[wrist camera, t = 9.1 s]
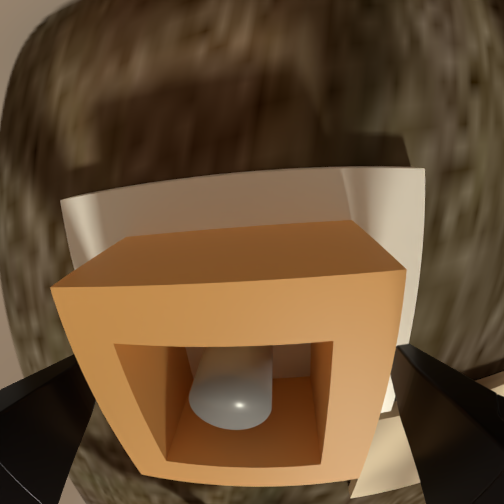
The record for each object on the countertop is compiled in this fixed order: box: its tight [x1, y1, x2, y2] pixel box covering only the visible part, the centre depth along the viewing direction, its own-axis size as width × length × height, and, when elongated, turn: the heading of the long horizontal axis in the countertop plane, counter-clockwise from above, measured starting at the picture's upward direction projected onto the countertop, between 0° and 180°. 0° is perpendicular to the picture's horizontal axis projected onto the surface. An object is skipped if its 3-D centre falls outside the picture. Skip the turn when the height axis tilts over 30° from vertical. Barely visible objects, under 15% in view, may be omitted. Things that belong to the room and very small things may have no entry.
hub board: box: [60, 166, 425, 430], centre depth 9 cm, size 12×10×4 cm
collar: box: [50, 220, 407, 487], centre depth 8 cm, size 7×7×4 cm
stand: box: [349, 371, 504, 498], centre depth 11 cm, size 9×9×5 cm
